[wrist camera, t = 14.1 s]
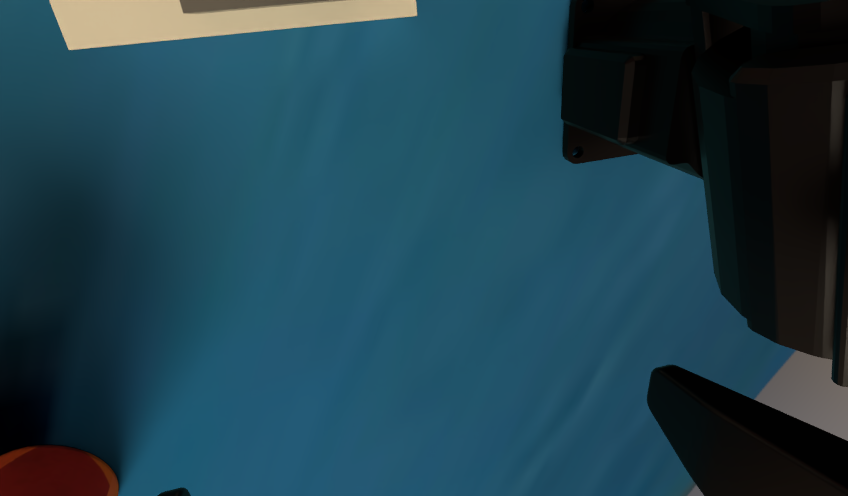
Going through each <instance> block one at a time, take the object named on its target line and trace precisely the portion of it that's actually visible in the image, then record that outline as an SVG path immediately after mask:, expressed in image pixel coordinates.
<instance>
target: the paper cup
mask: <svg viewBox="0 0 848 496" xmlns="http://www.w3.org/2000/svg"><path fill="white" fill-rule="evenodd" d="M118 490H119V484H118V480H117V477H116V475H115V473H114V471H113V470H112V469H111V467H110V466H109V465H108V464H106V463H105V462H104V461H103V460H101V459H100V458H98V457H96V456H95V455H93V454H91V453H88V452H86V451H83V450H80V449H76V448H72V447H67V446H59V445H37V446H29V447H24V448H19V449H16V450H13V451H10V452H7V453H5V454H3V455H1V456H0V496H118Z"/></svg>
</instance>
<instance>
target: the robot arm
mask: <svg viewBox="0 0 848 496" xmlns="http://www.w3.org/2000/svg"><path fill="white" fill-rule="evenodd" d="M583 1H584V0H571V4H570V12H569V32H568V50H567V52H566V53H565V55H564V64H563V85H562V106H561V119H562V120H563V121H564V132H563V156H564V158H565V159H566V160H568V161H570V162H571V163H573V164H578V163H585V162H591V161H597V160H603V159H609V158H615V157H621V156H627V155H634V154H641V155H643V156H646V157H648V158H651V159H653V160H656V161H658V162H661V163H663V164H666V165H668V166H671V167H673V168H676V169H678V170H680V171H683V172H685V173H688V174H690V175H693V176H695V177H698V178H700V179H703V180H704V188H705V197H706V205H707V214H708V223H709V231H710V240H711V249H712V258H713V266H714V274H715V277H716V279H717V282H718V285H719V288H720V291H721V294H722V295H723V296H724V297H725V298H726V299H727V300H728V301H729V302H730V303H731V305H732V306H733V307H734V308H735V309H736V310H737V311H738V312H739V313H740V314H741V315H742V316H744V317H745V318H747V324H748V327H749V328H750V329H751V330H752V331H754V332H756V333H758V334H760V335H762V336H764V337H766V338H767V339H769V340H771V341H773V342H775V343H777V344H780V345H783V346H786V347H789V348H792V349H795V350H798V351H801V352H804V353H807V354H810V355H813V356H817V357H821V358H827V359H832V360H833V361H832V378H831V379H832V380H833V382H834V383H836V384H837V385H840V386H843V387H848V0H587V1H588V8H587V10H586V11H585V12H583V11H582V8H581V5H582V2H583ZM575 147H579V150H578V152H577V154H576V155H573V150H574V149H575ZM647 403H648V406H649V409H650V411H651V412H652V414H653V416H654V417H655V419H656V421H657V422H658V424H659V426H660V427H661V429H662V431H663V432H664V434H665V436H666V437H667V439H668V440H669V442H670V444H671V445H672V447H673V449H674V450H675V452H676V454H677V455H678V457H679V459H680V460H681V462H682V464H683V465H684V467H685V468H686V470H687V471H688V473H689V475H690V476H691V478H692V479H693V481H694V482H695V483H696V485H697V486H698V487H699V489H700V490H701V492H702V493H703V495H704V496H848V441H846V440H844V439H842V438H840V437H837V436H835V435H833V434H830V433H828V432H826V431H824V430H822V429H819V428H817V427H815V426H812V425H810V424H808V423H806V422H803V421H801V420H799V419H797V418H794V417H792V416H789V415H787V414H785V413H783V412H781V411H778V410H776V409H774V408H772V407H769V406H767V405H765V404H762V403H760V402H758V401H756V400H753V399H751V398H749V397H747V396H744V395H742V394H740V393H737V392H735V391H733V390H731V389H728V388H726V387H724V386H722V385H719V384H717V383H715V382H713V381H710V380H708V379H706V378H703V377H701V376H699V375H697V374H694V373H692V372H690V371H688V370H685V369H683V368H681V367H678V366H676V365H666V366H662V367H658V368H655V369H654V370H653V371H652V372H651V377H650V382H649V388H648V394H647ZM158 496H191V495H190V493H189V492H188V490H187V489H186V488H177V489H173V490H169V491H165V492H162V493H160V494H159V495H158Z"/></svg>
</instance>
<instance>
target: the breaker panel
mask: <svg viewBox="0 0 848 496" xmlns="http://www.w3.org/2000/svg"><path fill="white" fill-rule="evenodd" d="M49 1H50V4H51V6H52V9H53V11H54V14H55V16H56V19H57V21H58V24H59V26H60V29H61V31H62V34H63V36H64V39H65V42H66V44H67V47H68V49H69V50H75V49H85V48H95V47H106V46H116V45H126V44H136V43H146V42H156V41H166V40H177V39H187V38H197V37H207V36H217V35H227V34H237V33H248V32H258V31H268V30H278V29H288V28H298V27H308V26H318V25H329V24H339V23H349V22H359V21H369V20H379V19H389V18H400V17H410V16H417V8H416V0H49Z"/></svg>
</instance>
